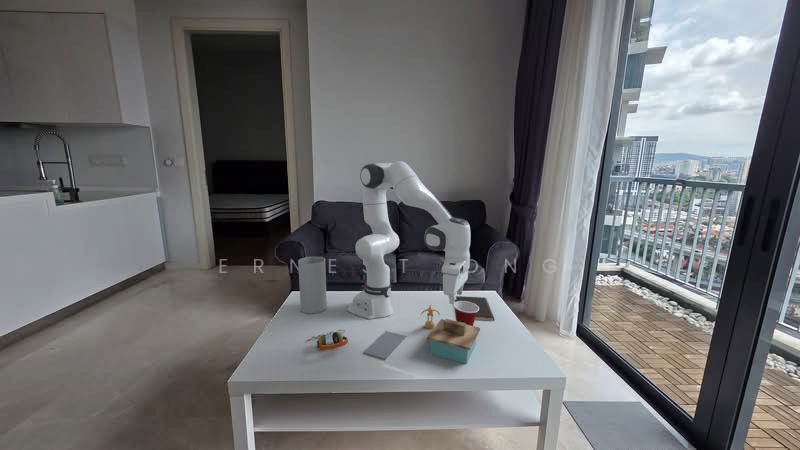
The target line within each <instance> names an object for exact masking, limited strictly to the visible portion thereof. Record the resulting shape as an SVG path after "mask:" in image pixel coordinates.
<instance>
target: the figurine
mask: <svg viewBox="0 0 800 450" xmlns="http://www.w3.org/2000/svg"><path fill="white" fill-rule="evenodd" d="M425 312H427V313H426V317H427V318H426V319H427V320H426V321H425V322H424V326H425V329H427V330H433V329H434V327H435V323H434V321H433V319H434V318H433V317H434V313H433V312H437V314H438V315H439V316H441V314H440V312H439V310H437V309H435V308H433V306H432V304H430V305H429V306H428V308H427V309H424V310H423V311H422V312H421V313H420V315H422V314H423V313H425Z"/></svg>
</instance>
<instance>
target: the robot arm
mask: <svg viewBox="0 0 800 450" xmlns="http://www.w3.org/2000/svg"><path fill="white" fill-rule="evenodd" d="M359 173H360V175H359V178H360V181H361V184H362V185H363V186H362V187H363V188H362V207H363V208H362V209H363V218H364V219H363V220H364V223H366V224H367V225H369V227H370V229H371V232H372V233H371V234H369V235H365V236H363V237H362V238H360V239H358V240H357V241H356V243H355V254H356V255H357V256H358V258H359V259H361V260H362V261H363V263H364V265H365V269H366V282H365V283H364V284H363V285H361V288H362V290H361V291H360V292H359V293H357V294H356V295H355V296H354V297H353V299H352V303H351V304H349V306H348V307H347V312H349V313H352V314H354V315H357V316H358V317H362V318H365V319H368V320H372V319H376V318H377V319H379V318H385V317H388V316H390V315H392V314H393V313H394V308H393V305H392V304H393V303H392V299H391V293H392V290H391V289H392V284H391V282H390V281H391V269H390V266H389V265H387V264H386V263H385V260H384V256H385V255H387V254H388V255H389V254H390V253H391V254H392V252H394V251H395V250H396V249H398V247H399V245H400V238H399V235H398V234H397V233H396V232H395V231H394V229H393V228H392V225H391V223H390V221H389V214H388V204H387V201H388V200H387V195H386V194H387V191H388V189H390V190H393V191H394V192H395V194H396V196H397V198H398V199H399V200H400V201H401V202H402V203H403V204H404V205H406V206H409V207H414V208H419V209H422V210H425V211H426V212H428V213H429V214H430V215H431V216H432V218H433V219H434V220H435V221H436V223H438V224H436V225H432V226H430V227H427V229H426V230H425V231H424V236H423V237H424V238H423V240H424V243H425V245H426V247H427V248H428V249H429V250H431V251H435V252H436V251H437V252H438V251H439V252H441V251H444V252H445V254H444V255H445V257H444V258H445V259H444V262H443V265H442V267H441V273H442V292H443V294H444V295H445V296H448V301H449V304H451V305H454V303H455V302H456V294H457V295H459V296H462V294H463V288H464V285H465V283H466V282H467V281H468V278H469V269H470V266H471V265H470V264H471V263H470V262H471V261H470V259H471V253H470V247H471V241H472V240H471V236H472V235H471V226H470V224H469V222H468V220H465V219H464V218H460V217H459V218H458V217H453V216H452V215H451V213H450V212H449V211H448V209H447V208H446V207H445V206H444V204H443V203H442V202H441V201H440V199H438V197H436V195H435V194H434V193H432V192H431V191H430V190H429V189H428V188H427V187H426V186H425V185H424V184H423V182H422V181H421V180H420V178H419V177H418V175H417V174H416V173H415V171H414V170H413V168H411V166H410V165H408V163H406V162H405V161H402V160H397V161H395V162H394V161H393V162H378V163H368V164H365V165H364V166H363V167H362V168H361V170H360V172H359Z"/></svg>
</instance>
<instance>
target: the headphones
mask: <svg viewBox="0 0 800 450" xmlns="http://www.w3.org/2000/svg"><path fill="white" fill-rule="evenodd" d="M339 331H341V329H338V330H337V331H334V332H332V331H330V332H329V333H327V334H325V333H323V334H318V335H317V336H316V335H314V336H311V337H310V339H306V340H305V342H307V341H308V342H309V341H311V340H312V339H313V338H316V339H317V340H316V347H317V349H319V350H322V351H325V350H326V351H328V350H334V349H338V348H340V347H344V346H345V345H347V344H348V343H349V339H348V337H346V336H344V335H343V334H344V332H345V331H346V330H345V329H342V331H341V332H339ZM328 337H331V338H332V342H333V344H329V345H327V339H326V338H328Z"/></svg>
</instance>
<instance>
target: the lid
mask: <svg viewBox="0 0 800 450" xmlns="http://www.w3.org/2000/svg"><path fill="white" fill-rule="evenodd" d="M480 331H481V327H479V326H475V325H473V326H471V325H466V323H463V322H458V321H456V320H453V319H449V318H445V319H443V318H441V319H440V320H438V322H437V324H436V325H434V328H433V329H431V331H430V332H429V334H428V335H427V336H426V340H428V341H430V340H432V341H435V342H439V343H443V344H447V345H451V346H455V347H459V348H463V349H467V350H470V349H471V347H472V345H473V343H474V341H475V339H476V340H477V336H478V335H479V333H480Z"/></svg>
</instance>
